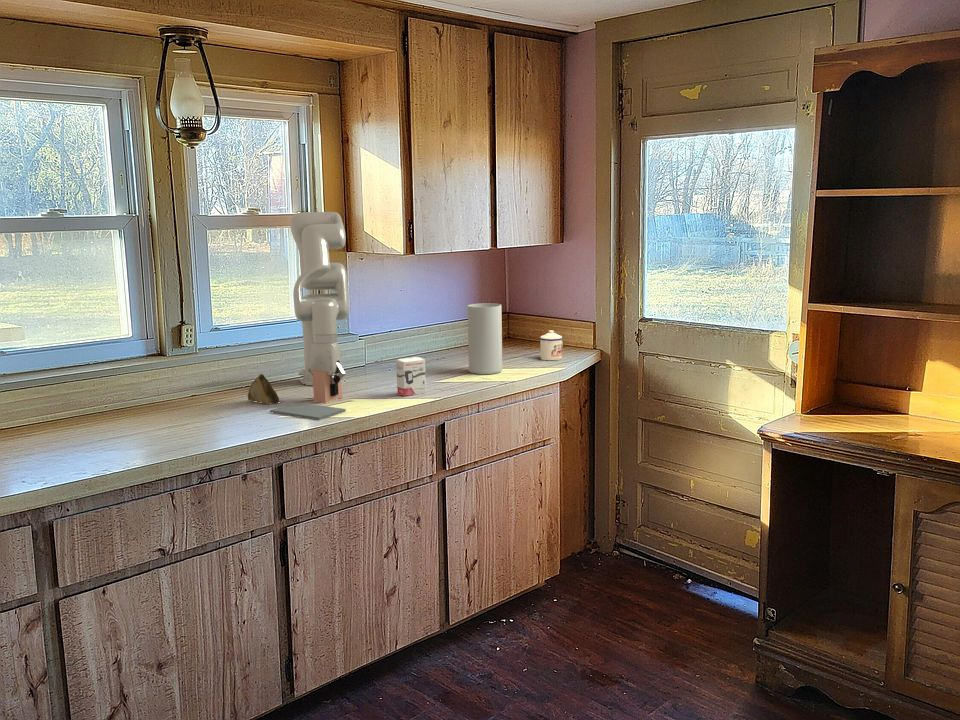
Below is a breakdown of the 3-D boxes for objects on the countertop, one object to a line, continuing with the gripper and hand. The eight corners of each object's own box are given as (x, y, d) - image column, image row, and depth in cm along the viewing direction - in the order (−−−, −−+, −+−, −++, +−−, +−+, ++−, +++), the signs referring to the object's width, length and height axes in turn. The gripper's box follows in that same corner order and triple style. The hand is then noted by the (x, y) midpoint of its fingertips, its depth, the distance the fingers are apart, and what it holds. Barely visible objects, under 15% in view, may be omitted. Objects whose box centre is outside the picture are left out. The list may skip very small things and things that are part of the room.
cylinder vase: (506, 373, 319) (505, 306, 315) (473, 375, 316) (472, 307, 312) (497, 367, 331) (496, 302, 327) (465, 369, 328) (464, 304, 324)
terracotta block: (313, 401, 279) (312, 371, 278) (330, 396, 286) (329, 367, 284) (325, 403, 277) (324, 372, 275) (342, 398, 283) (340, 368, 282)
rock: (238, 394, 281) (246, 396, 272) (251, 372, 283) (260, 372, 275) (266, 411, 286) (275, 412, 277) (279, 388, 288) (288, 389, 279)
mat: (270, 412, 265) (269, 410, 265) (297, 404, 275) (297, 402, 275) (319, 420, 255) (318, 417, 255) (345, 411, 265) (345, 408, 265)
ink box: (404, 396, 284) (402, 361, 282) (396, 394, 288) (395, 359, 286) (426, 393, 289) (425, 358, 286) (419, 390, 293) (418, 356, 291)
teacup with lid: (553, 361, 341) (553, 332, 339) (535, 359, 347) (535, 330, 345) (571, 357, 350) (571, 329, 348) (552, 355, 356) (552, 327, 354)
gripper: (297, 339, 279) (300, 394, 282) (337, 342, 270) (340, 399, 274) (313, 335, 285) (316, 389, 289) (353, 339, 277) (355, 394, 280)
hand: (327, 393), depth 281 cm, fingers closed on terracotta block, 5 cm apart
